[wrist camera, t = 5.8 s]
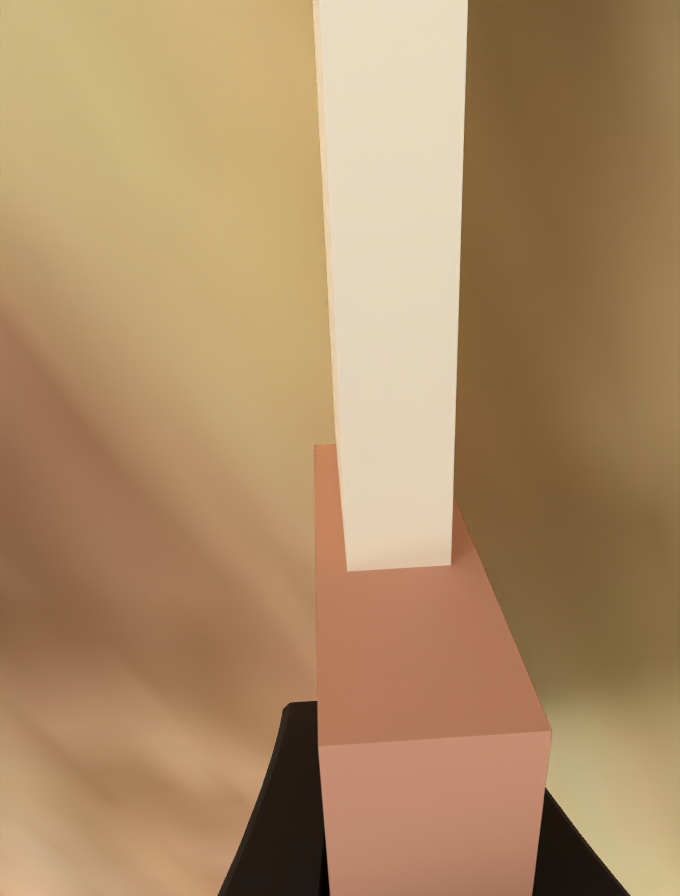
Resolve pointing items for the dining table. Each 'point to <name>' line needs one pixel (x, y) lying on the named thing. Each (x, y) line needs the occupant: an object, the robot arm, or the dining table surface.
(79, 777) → the dining table surface
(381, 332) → the cream pillar on pink
